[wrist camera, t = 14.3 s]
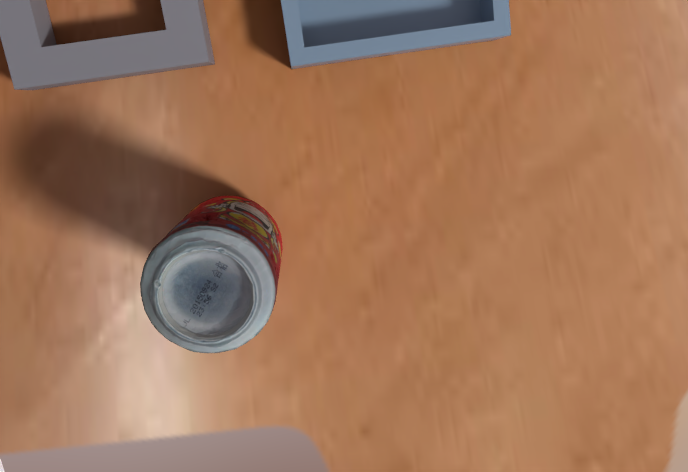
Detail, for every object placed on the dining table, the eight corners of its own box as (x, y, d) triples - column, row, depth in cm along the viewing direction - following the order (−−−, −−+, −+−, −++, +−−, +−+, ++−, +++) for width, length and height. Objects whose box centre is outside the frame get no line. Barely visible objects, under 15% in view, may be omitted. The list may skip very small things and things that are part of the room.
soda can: (299, 214, 41) (297, 262, 29) (260, 301, 42) (243, 380, 30) (205, 173, 40) (163, 205, 28) (168, 264, 41) (113, 331, 29)
